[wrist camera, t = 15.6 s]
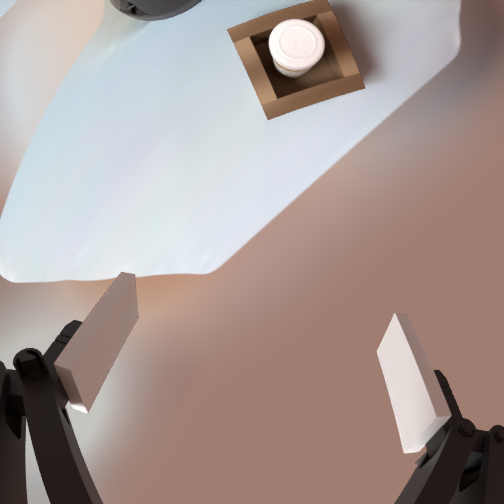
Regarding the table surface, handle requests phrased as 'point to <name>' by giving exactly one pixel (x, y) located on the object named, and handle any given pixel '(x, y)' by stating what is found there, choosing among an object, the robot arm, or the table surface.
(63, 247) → the table surface
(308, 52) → the sprinkles bottle
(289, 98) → the walnut socket block
